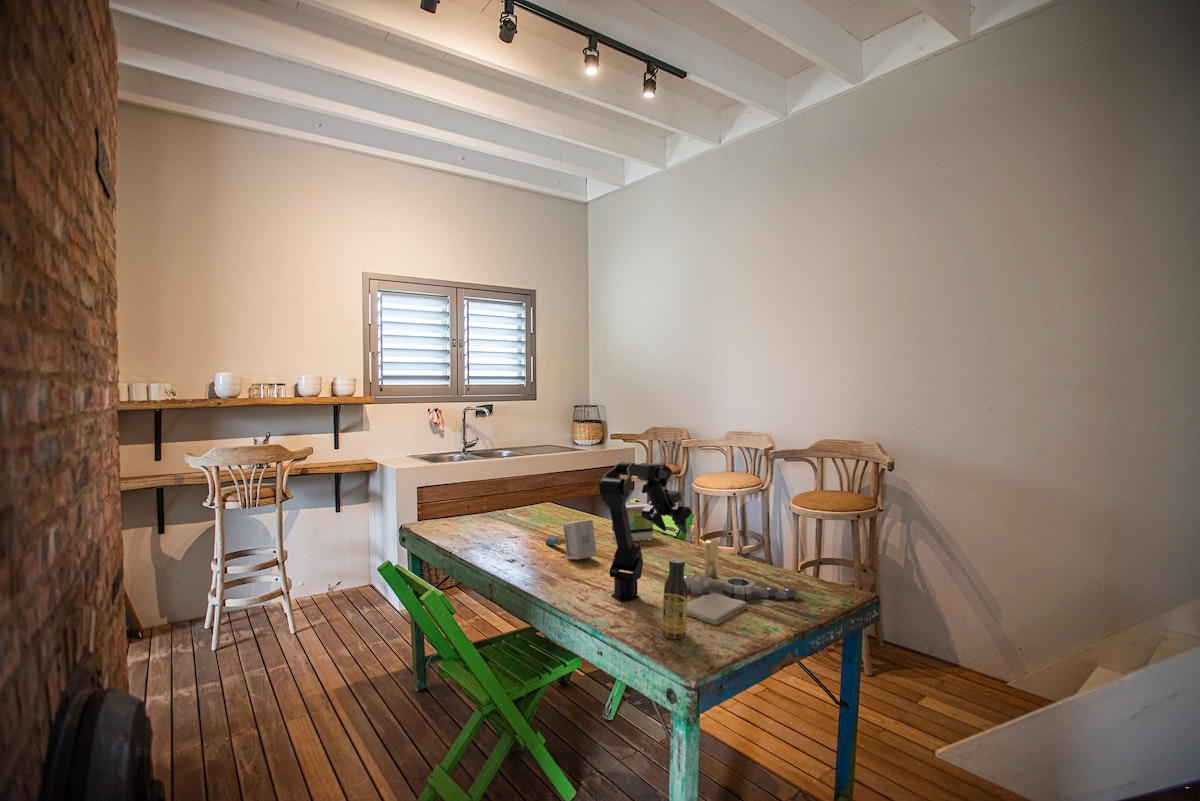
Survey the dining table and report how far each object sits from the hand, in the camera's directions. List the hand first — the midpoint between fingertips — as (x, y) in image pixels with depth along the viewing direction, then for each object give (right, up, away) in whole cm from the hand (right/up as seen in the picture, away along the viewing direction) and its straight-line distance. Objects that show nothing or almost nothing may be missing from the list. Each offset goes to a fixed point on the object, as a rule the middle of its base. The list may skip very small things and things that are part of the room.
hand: (675, 531), depth 202 cm
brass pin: (+11, -15, -6) cm, 20 cm away
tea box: (-12, -13, +46) cm, 50 cm away
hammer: (-39, -14, +25) cm, 48 cm away
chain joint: (+17, -15, -20) cm, 30 cm away
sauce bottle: (-7, -16, -50) cm, 53 cm away
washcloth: (+7, -16, -33) cm, 37 cm away
